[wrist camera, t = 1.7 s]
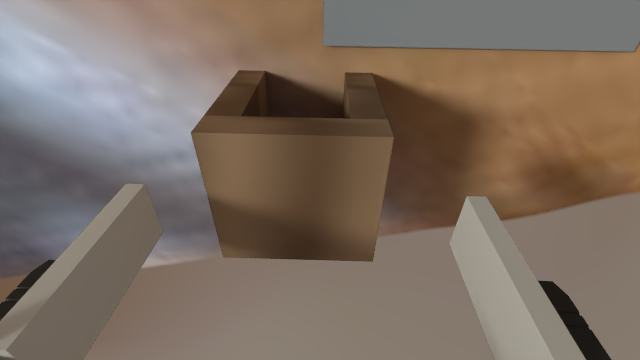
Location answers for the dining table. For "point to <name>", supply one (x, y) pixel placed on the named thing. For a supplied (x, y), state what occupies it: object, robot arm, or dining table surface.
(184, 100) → the dining table surface
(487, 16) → the mat
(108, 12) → the dining table surface
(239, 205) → the notched open box
